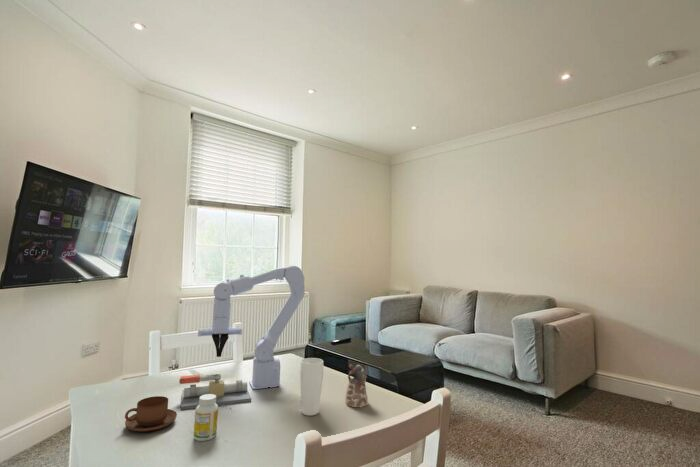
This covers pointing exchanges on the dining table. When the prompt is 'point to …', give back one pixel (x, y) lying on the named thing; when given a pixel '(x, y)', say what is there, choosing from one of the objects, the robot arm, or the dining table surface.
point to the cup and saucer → (150, 415)
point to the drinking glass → (311, 385)
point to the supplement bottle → (206, 418)
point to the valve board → (218, 400)
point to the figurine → (356, 387)
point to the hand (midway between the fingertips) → (218, 356)
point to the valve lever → (198, 378)
